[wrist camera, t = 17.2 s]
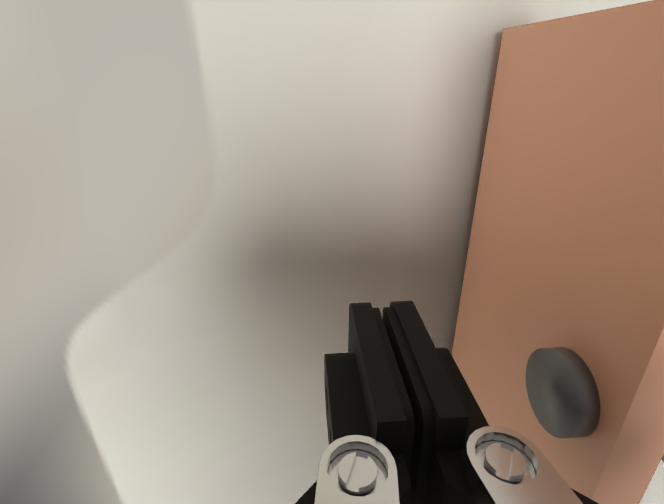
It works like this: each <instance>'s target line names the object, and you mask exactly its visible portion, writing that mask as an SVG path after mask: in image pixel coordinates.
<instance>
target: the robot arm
mask: <svg viewBox="0 0 664 504" xmlns="http://www.w3.org/2000/svg"><path fill="white" fill-rule="evenodd" d="M324 366H325V400H326V414H327V426H328V439H329V445H328V447H327V448H326V449H325V451H324V452H323V453H322V456H321V459H320V463H319V468H318V477H317V481H316V482H315V483H314V484H313V485H312V486H311V487H310V488H309V489H308V491H307V492H306V493H305V494H304V495H303V496H302V497H301V498H300V499H299V500H298V501H297V502H296V503H295V504H599V503H597V502H595V501H593V500H592V499H590V498H588V497H586V496H584V495H583V494H581V493H579V492H577V491H575V490H574V489H572V488H570V487H569V486H568V484H567V483H566V482H565V481H564V479H563V478H562V477H561V476H560V474H559V473H558V472H557V471H556V470H555V468H554V467H553V466H552V465H551V463H550V462H549V461H548V460H547V458H546V457H545V456H544V455H543V453H542V452H541V451H540V450H539V449H538V448H537V447H536V446H535V445H534V444H533V443H532V442H531V441H530V440H529V439H527V438H526V437H524V436H523V435H521V434H520V433H518V432H515V431H513V430H510V429H508V428H504V427H498V426H489V424H488V422H487V420H486V418H485V417H484V415H483V413H482V411H481V409H480V407H479V405H478V403H477V402H476V400H475V398H474V396H473V394H472V392H471V390H470V388H469V387H468V385H467V383H466V381H465V379H464V377H463V375H462V374H461V372H460V370H459V368H458V366H457V364H456V362H455V360H454V359H453V357H452V355H451V353H450V352H449V350H448V349H446V348H435V346H434V344H433V342H432V340H431V338H430V336H429V334H428V332H427V330H426V328H425V326H424V324H423V322H422V320H421V318H420V316H419V314H418V312H417V309H416V307H415V305H414V303H413V302H412V301H398V302H391V303H390V307H384V309H383V318H382V316H381V313H380V310H379V308H372V306H371V303H351V304H350V306H349V344H348V353H335V354H325V357H324Z"/></svg>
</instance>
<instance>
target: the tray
mask: <svg viewBox="0 0 664 504" xmlns="http://www.w3.org/2000/svg"><path fill="white" fill-rule="evenodd" d="M452 357H453V359H454V360H455V362H456V364H457V366H458V368H459V370H460V372H461V374H462V375H463V377H464V379H465V381H466V383H467V385H468V387H469V388H470V390H471V392H472V394H473V396H474V398H475V400H476V402H477V403H478V405H479V407H480V409H481V411H482V413H483V415H484V417H485V418H486V420H487V422H488V424H489V426H498V427H504V428H508V429H510V430H513V431H515V432H518V433H520V434H521V435H523V436H524V437H526V438H527V439H529V440H530V441H531V442H532V443H533V444H534V445H535V446H536V447H537V448H538V449H539V450H540V451H541V452H542V453H543V455H544V456H545V457H546V458H547V460H548V461H549V462H550V463H551V465H552V466H553V467H554V468H555V470H556V471H557V472H558V473H559V474H560V476H561V477H562V478H563V479H564V481H565V482H566V483H567V484H568V486H569V487H570V488H572V489H574V490H575V491H577V492H579V493H581V494H583V495H584V496H586V497H588V498H590V499H592V500H593V501H595V502H597V503H599V504H639V503H640V501H641V499H642V497H643V495H644V493H645V491H646V489H647V487H648V485H649V483H650V481H651V478H652V476H653V474H654V472H655V470H656V468H657V466H658V464H659V462H660V460H661V458H662V457H663V456H664V0H653V1H647V2H642V3H637V4H632V5H626V6H621V7H616V8H611V9H606V10H600V11H595V12H590V13H585V14H579V15H574V16H569V17H564V18H558V19H553V20H548V21H543V22H537V23H532V24H527V25H522V26H516V27H511V28H506V29H503V34H502V40H501V46H500V53H499V59H498V65H497V72H496V78H495V84H494V90H493V97H492V103H491V109H490V116H489V122H488V128H487V135H486V141H485V147H484V153H483V160H482V166H481V172H480V179H479V185H478V191H477V197H476V204H475V210H474V216H473V223H472V229H471V235H470V241H469V248H468V254H467V260H466V267H465V273H464V279H463V285H462V292H461V298H460V304H459V311H458V317H457V323H456V330H455V336H454V342H453V348H452Z"/></svg>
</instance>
